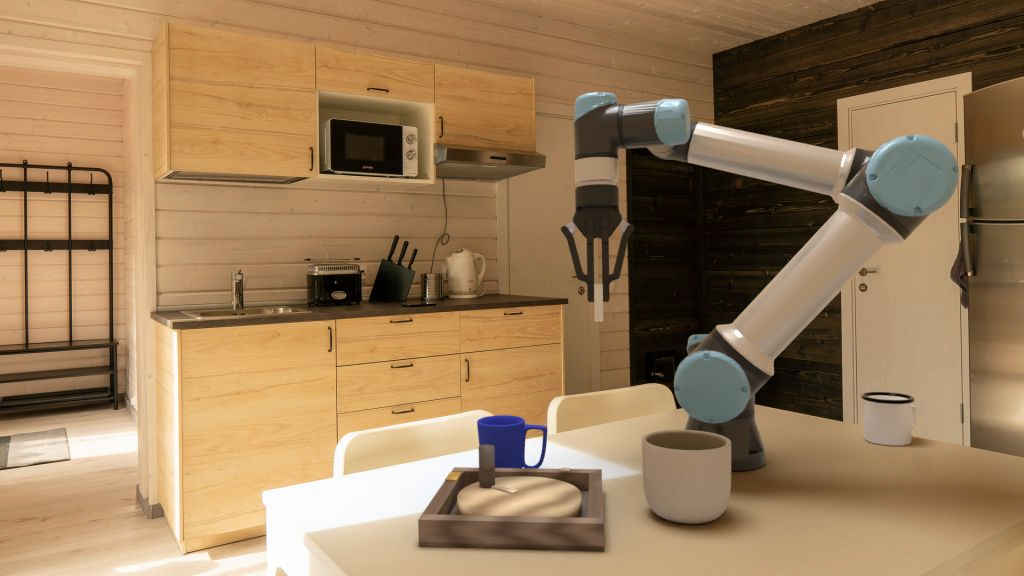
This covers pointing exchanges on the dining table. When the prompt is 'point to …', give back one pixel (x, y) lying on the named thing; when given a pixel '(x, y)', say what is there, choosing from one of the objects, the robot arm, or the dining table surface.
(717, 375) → the robot arm
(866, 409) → the mug
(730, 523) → the dining table surface
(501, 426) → the mug
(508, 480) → the dial
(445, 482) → the brown wooden tray
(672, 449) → the planter
